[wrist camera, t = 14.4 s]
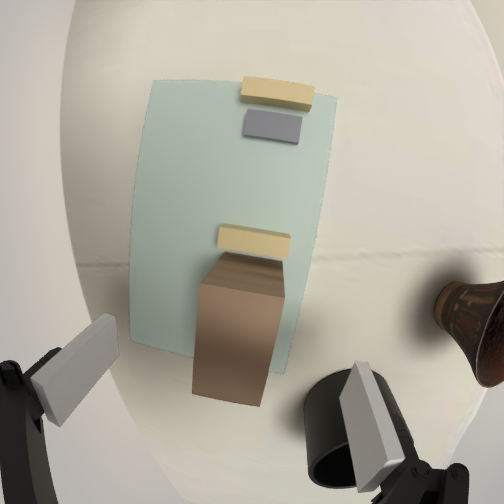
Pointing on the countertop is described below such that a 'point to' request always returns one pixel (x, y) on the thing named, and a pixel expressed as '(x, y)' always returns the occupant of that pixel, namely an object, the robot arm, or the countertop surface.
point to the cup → (476, 326)
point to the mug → (334, 431)
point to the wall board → (224, 197)
